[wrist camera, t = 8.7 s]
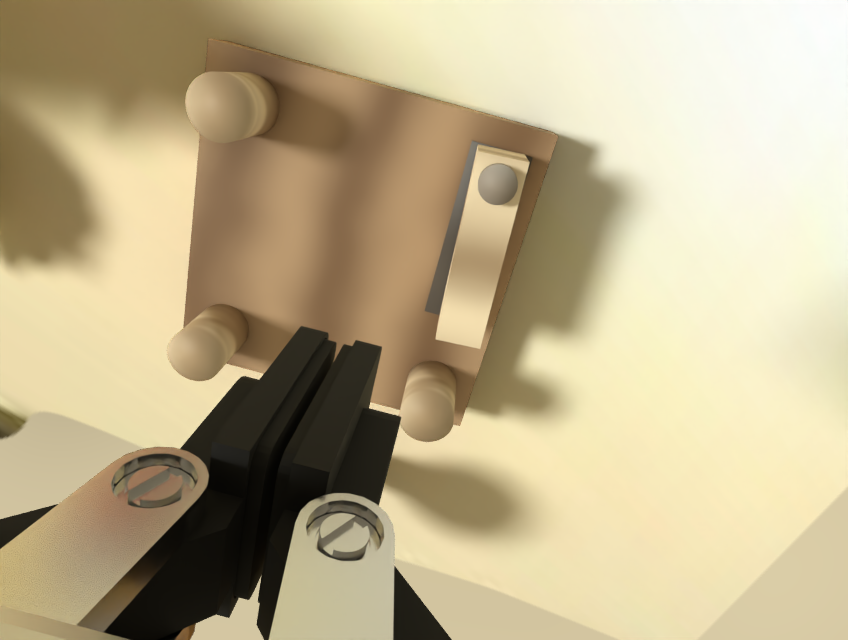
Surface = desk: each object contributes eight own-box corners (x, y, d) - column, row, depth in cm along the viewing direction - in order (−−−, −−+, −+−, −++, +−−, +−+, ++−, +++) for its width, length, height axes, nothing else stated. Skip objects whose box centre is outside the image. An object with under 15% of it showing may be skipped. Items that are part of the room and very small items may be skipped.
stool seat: (552, 131, 30) (570, 144, 24) (460, 404, 38) (458, 466, 32) (228, 41, 30) (167, 31, 24) (199, 334, 37) (146, 383, 31)
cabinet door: (477, 144, 28) (477, 152, 25) (524, 154, 28) (530, 164, 25) (438, 317, 32) (434, 344, 29) (479, 325, 32) (480, 354, 29)
